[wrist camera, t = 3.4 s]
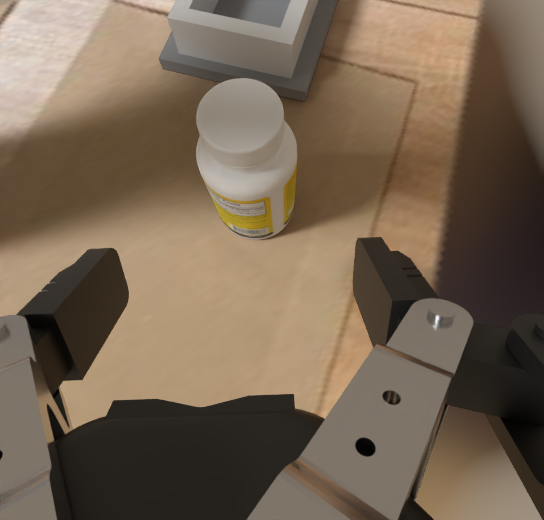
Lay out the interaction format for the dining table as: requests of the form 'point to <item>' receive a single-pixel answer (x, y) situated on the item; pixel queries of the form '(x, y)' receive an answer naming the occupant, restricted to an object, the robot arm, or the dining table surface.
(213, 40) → the board
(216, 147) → the supplement bottle
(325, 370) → the dining table surface
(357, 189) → the dining table surface
